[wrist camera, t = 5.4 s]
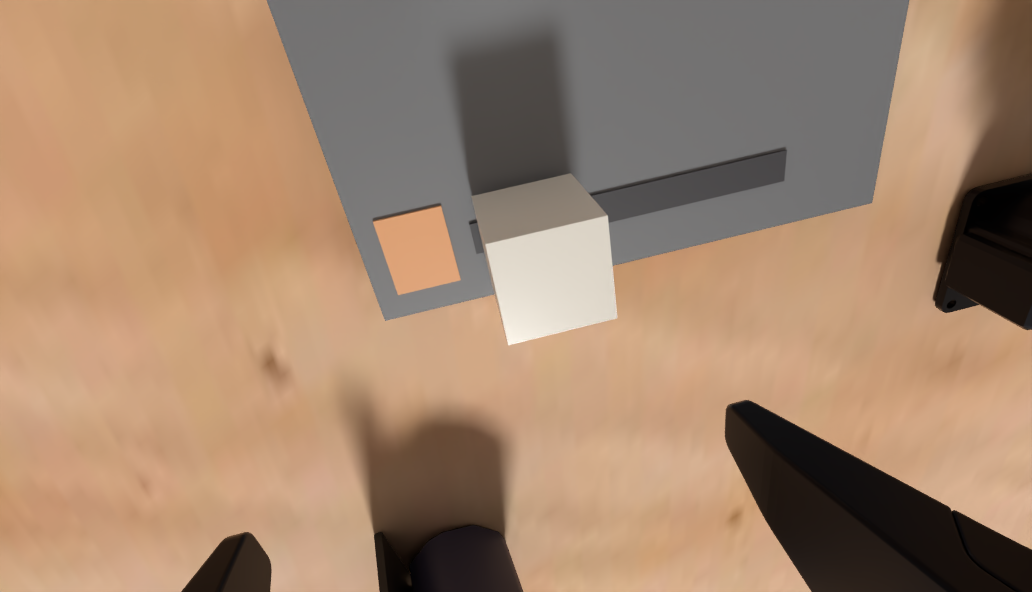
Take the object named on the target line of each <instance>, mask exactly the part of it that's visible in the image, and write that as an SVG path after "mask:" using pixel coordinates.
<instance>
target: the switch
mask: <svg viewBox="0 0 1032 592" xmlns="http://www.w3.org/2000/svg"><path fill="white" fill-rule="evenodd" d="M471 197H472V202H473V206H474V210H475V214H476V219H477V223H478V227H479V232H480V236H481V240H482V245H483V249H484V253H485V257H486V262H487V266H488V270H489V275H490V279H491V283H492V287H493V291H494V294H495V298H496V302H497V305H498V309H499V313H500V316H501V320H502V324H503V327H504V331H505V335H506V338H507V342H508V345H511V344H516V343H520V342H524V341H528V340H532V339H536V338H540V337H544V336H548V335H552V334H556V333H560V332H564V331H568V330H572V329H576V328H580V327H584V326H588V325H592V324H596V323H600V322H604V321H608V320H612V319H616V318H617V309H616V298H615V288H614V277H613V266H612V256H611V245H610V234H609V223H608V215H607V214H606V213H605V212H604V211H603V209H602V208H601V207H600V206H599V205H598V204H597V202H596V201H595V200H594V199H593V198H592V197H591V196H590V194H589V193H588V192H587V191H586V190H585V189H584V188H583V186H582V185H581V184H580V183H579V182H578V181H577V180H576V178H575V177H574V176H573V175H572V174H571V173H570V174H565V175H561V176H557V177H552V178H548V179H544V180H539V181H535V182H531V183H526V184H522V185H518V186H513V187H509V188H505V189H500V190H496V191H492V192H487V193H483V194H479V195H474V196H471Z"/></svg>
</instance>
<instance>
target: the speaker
mask: <svg viewBox="0 0 1032 592" xmlns="http://www.w3.org/2000/svg"><path fill="white" fill-rule="evenodd" d="M374 540H375V550H376V560H377V570H378V580H379V590H380V592H523V590H522V587H521V584H520V581H519V578H518V575H517V573H516V570H515V567H514V564H513V561H512V558H511V556H510V553H509V550H508V547H507V544H506V541H505V539H504V538H503V537H502V536H501V535H500V533H499V532H497V531H493V530H490V529H486V528H482V527H479V526H475V525H472V526H468V527H464V528H459V529H455V530H451V531H447V532H443V533H441V534H439V535H438V536H436V537H434V538H433V539H431V540H429V541H428V542H427V543H426V544H425V546H424V547H423V548H422V549H421V551H420V552H419V553H418V555H417V556H416V557H415V559H414V560H413V561H412V562H411V564H410V573H411V574H410V573H409V571H408V570H407V568H406V567H405V565H404V564H403V562H402V561H401V560H400V558H399V557H398V555H397V554H396V552H395V551H394V549H393V548H392V547H391V545H390V544H389V542H388V541H387V539H386V538H385V536H384V535H383V533H382V532H379V533H377V534H375V535H374Z"/></svg>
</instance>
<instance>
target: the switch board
mask: <svg viewBox="0 0 1032 592" xmlns="http://www.w3.org/2000/svg"><path fill="white" fill-rule="evenodd" d="M267 2H268V5H269V8H270V11H271V13H272V16H273V19H274V21H275V24H276V27H277V29H278V32H279V35H280V38H281V40H282V43H283V46H284V48H285V51H286V54H287V57H288V59H289V62H290V65H291V67H292V70H293V73H294V75H295V78H296V81H297V84H298V86H299V89H300V92H301V94H302V97H303V100H304V103H305V105H306V108H307V111H308V113H309V116H310V119H311V121H312V124H313V127H314V130H315V132H316V135H317V138H318V140H319V143H320V146H321V149H322V151H323V154H324V157H325V159H326V162H327V165H328V168H329V170H330V173H331V176H332V178H333V181H334V184H335V186H336V189H337V192H338V195H339V197H340V200H341V203H342V205H343V208H344V211H345V214H346V216H347V219H348V222H349V224H350V227H351V230H352V232H353V235H354V238H355V241H356V243H357V246H358V249H359V251H360V254H361V257H362V260H363V262H364V265H365V268H366V270H367V273H368V276H369V278H370V281H371V284H372V287H373V289H374V292H375V295H376V297H377V300H378V303H379V306H380V308H381V311H382V314H383V316H384V319H385V321H386V320H390V319H395V318H399V317H403V316H407V315H411V314H415V313H419V312H424V311H428V310H432V309H436V308H440V307H444V306H448V305H452V304H457V303H461V302H465V301H469V300H473V299H477V298H481V297H485V296H490V295H494V291H493V287H492V283H491V279H490V275H489V270H488V266H487V262H486V257H485V253H484V249H483V245H482V240H481V236H480V232H479V227H478V223H477V219H476V214H475V210H474V206H473V202H472V197H471V196H474V195H479V194H483V193H487V192H492V191H496V190H500V189H505V188H509V187H513V186H518V185H522V184H526V183H531V182H535V181H539V180H544V179H548V178H552V177H557V176H561V175H565V174H570V173H571V174H572V175H573V176H574V177H575V178H576V180H577V181H578V182H579V183H580V184H581V185H582V186H583V188H584V189H585V190H586V191H587V192H588V193H589V194H590V196H591V197H592V198H593V199H594V200H595V201H596V202H597V204H598V205H599V206H600V207H601V208H602V209H603V211H604V212H605V213H606V214H607V215H608V223H609V234H610V245H611V256H612V266H614V265H618V264H622V263H626V262H630V261H634V260H638V259H642V258H647V257H651V256H655V255H659V254H663V253H667V252H671V251H676V250H680V249H684V248H688V247H692V246H696V245H700V244H704V243H709V242H713V241H717V240H721V239H725V238H729V237H733V236H737V235H742V234H746V233H750V232H754V231H758V230H762V229H766V228H771V227H775V226H779V225H783V224H787V223H791V222H795V221H799V220H804V219H808V218H812V217H816V216H820V215H824V214H828V213H833V212H837V211H841V210H845V209H849V208H853V207H857V206H861V205H866V204H870V203H872V200H873V195H874V190H875V184H876V179H877V173H878V168H879V162H880V157H881V151H882V146H883V140H884V135H885V130H886V124H887V119H888V113H889V108H890V102H891V97H892V91H893V86H894V80H895V75H896V70H897V64H898V59H899V53H900V48H901V42H902V37H903V31H904V26H905V20H906V15H907V10H908V4H909V0H267Z"/></svg>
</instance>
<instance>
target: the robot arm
mask: <svg viewBox="0 0 1032 592" xmlns="http://www.w3.org/2000/svg"><path fill="white" fill-rule="evenodd" d="M976 305H981V306H983V307H985V308H987V309H988V310H990V311H992V312H994V313H996V314H997V315H999V316H1001V317H1003V318H1005V319H1007V320H1008V321H1010V322H1012V323H1014V324H1016V325H1017V326H1019V327H1021V328H1023V329H1025V330H1030V329H1031V330H1032V174H1030V175H1026V176H1021V177H1017V178H1013V179H1009V180H1005V181H1001V182H997V183H993V184H989V185H984V186H980V187H977V188H974V189H972V190H971V191H970V192H969V193H968V194H967V195H966V197H965V199H964V201H963V205H962V209H961V212H960V216H959V219H958V223H957V226H956V230H955V234H954V237H953V241H952V244H951V248H950V252H949V255H948V259H947V262H946V266H945V270H944V273H943V277H942V280H941V284H940V288H939V291H938V295H937V298H936V302H935V306H936V308H938V309H939V310H941V311H943V312H945V313H949V312H953V311H957V310H961V309H965V308H969V307H973V306H976ZM725 440H726V443H727V446H728V448H729V450H730V452H731V454H732V456H733V458H734V460H735V462H736V464H737V466H738V468H739V470H740V472H741V474H742V476H743V478H744V479H745V481H746V483H747V485H748V487H749V489H750V491H751V493H752V495H753V497H754V499H755V501H756V503H757V505H758V507H759V509H760V511H761V513H762V514H763V516H764V518H765V520H766V522H767V523H768V525H769V527H770V528H771V530H772V531H773V533H774V535H775V536H776V538H777V539H778V541H779V542H780V544H781V545H782V547H783V548H784V550H785V551H786V553H787V555H788V556H789V558H790V559H791V561H792V562H793V564H794V565H795V567H796V568H797V570H798V571H799V573H800V575H801V576H802V578H803V579H804V581H805V582H806V584H807V585H808V587H809V588H810V590H811V591H812V592H1032V550H1031V549H1029V548H1027V547H1025V546H1023V545H1021V544H1019V543H1017V542H1015V541H1013V540H1011V539H1009V538H1007V537H1005V536H1003V535H1002V534H1000V533H998V532H996V531H994V530H992V529H990V528H988V527H986V526H984V525H982V524H980V523H978V522H976V521H975V520H973V519H971V518H969V517H967V516H965V515H963V514H961V513H960V512H958V511H955V510H953V511H951V509H950V508H949V507H948V506H946V505H944V504H942V503H941V502H939V501H937V500H935V499H933V498H931V497H929V496H928V495H926V494H924V493H922V492H920V491H918V490H916V489H914V488H913V487H911V486H909V485H907V484H905V483H903V482H901V481H900V480H898V479H896V478H894V477H892V476H890V475H888V474H886V473H885V472H883V471H881V470H879V469H877V468H875V467H873V466H872V465H870V464H868V463H866V462H864V461H862V460H860V459H859V458H857V457H855V456H853V455H851V454H849V453H847V452H845V451H844V450H842V449H840V448H838V447H836V446H834V445H832V444H831V443H829V442H827V441H825V440H823V439H821V438H819V437H817V436H816V435H814V434H812V433H810V432H808V431H806V430H804V429H803V428H801V427H799V426H797V425H795V424H793V423H791V422H789V421H788V420H786V419H784V418H782V417H780V416H778V415H776V414H775V413H773V412H771V411H769V410H767V409H765V408H763V407H761V406H760V405H758V404H756V403H754V402H752V401H749V400H744V401H740V402H736V403H732V404H729V405H728V406H727V408H726V417H725ZM270 586H271V562H270V559H269V557H268V555H267V554H266V553H265V551H264V550H263V548H262V547H261V545H260V544H259V543H258V541H257V540H256V538H255V537H254V536H253V535H252V534H251V533H249V532H244V533H240V534H237V535H233V536H229V537H227V538H225V539H224V540H223V541H222V542H221V543H220V544H219V545H218V547H217V548H216V549H215V550H214V551H213V553H212V554H211V555H210V556H209V558H208V559H207V560H206V561H205V563H204V564H203V565H202V566H201V568H200V569H199V570H198V571H197V573H196V574H195V575H194V576H193V578H192V579H191V580H190V581H189V583H188V584H187V585H186V586H185V588H184V589H183V590H182V591H181V592H270Z"/></svg>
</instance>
